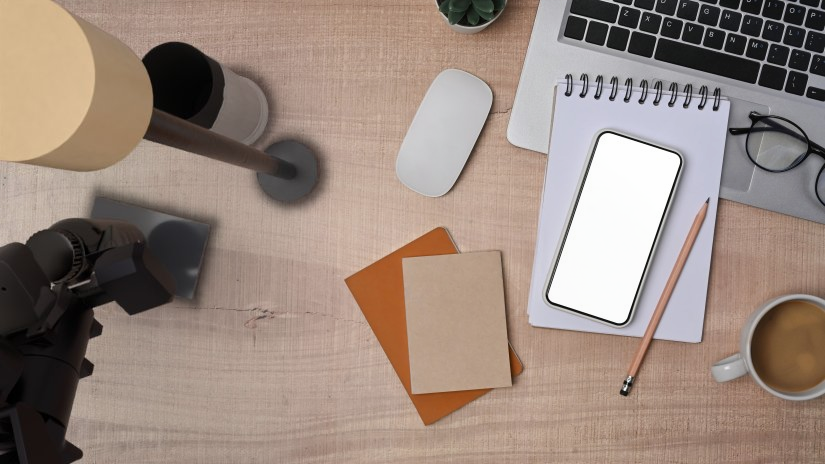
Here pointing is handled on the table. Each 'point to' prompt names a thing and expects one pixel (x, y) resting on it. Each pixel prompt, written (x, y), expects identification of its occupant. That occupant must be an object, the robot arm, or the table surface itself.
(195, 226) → the slate tile
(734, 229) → the table surface
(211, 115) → the glass holder
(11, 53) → the desk lamp
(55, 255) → the supplement bottle
